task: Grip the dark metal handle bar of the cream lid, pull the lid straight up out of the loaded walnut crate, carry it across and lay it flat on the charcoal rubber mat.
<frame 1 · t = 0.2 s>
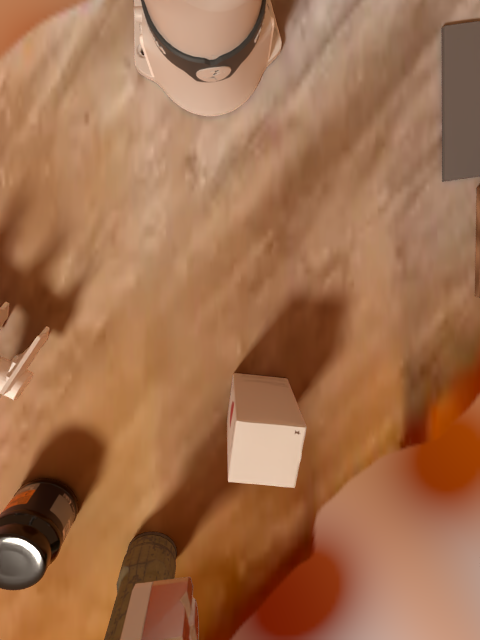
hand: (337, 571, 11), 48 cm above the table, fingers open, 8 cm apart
supplement container: (49, 501, 64), on the table
thermos: (152, 550, 68), on the table
supplement box: (256, 399, 62), on the table
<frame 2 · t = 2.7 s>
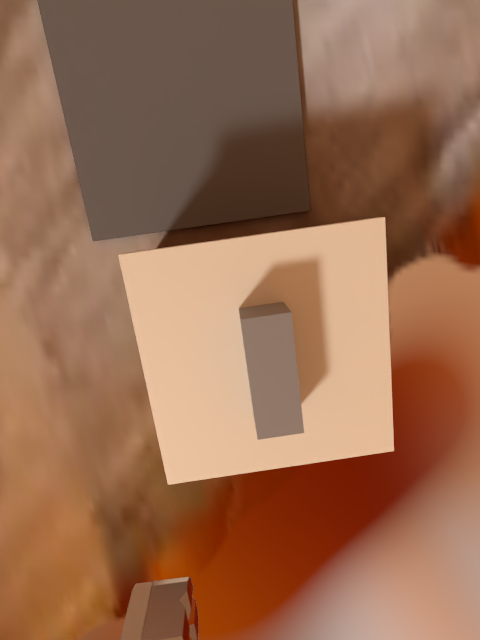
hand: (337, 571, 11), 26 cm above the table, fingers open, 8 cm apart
lid panel: (264, 349, 29), point 8 cm above the table, touching crate
mat: (183, 107, 31), on the table
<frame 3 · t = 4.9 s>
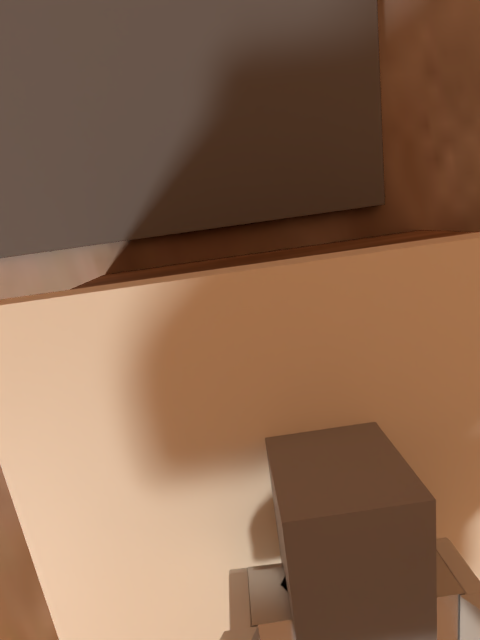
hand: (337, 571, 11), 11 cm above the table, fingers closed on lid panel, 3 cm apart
lid panel: (312, 494, 14), point 8 cm above the table, touching crate, gripper
mat: (151, 6, 16), on the table
crate: (280, 397, 21), on the table
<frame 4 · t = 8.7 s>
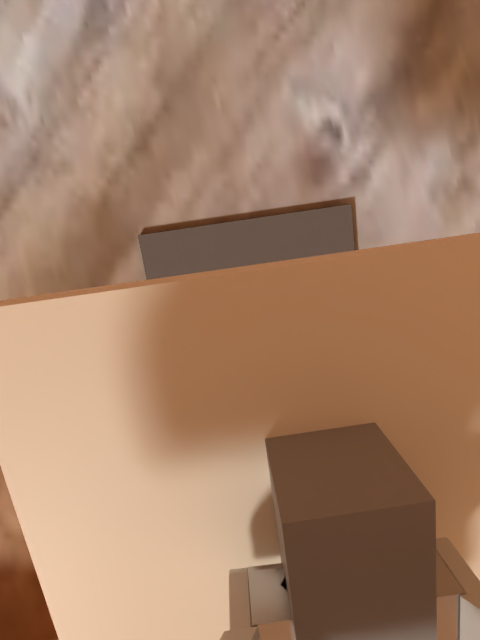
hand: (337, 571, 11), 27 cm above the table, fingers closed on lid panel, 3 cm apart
lid panel: (312, 495, 14), point 24 cm above the table, touching gripper
mat: (258, 321, 36), on the table
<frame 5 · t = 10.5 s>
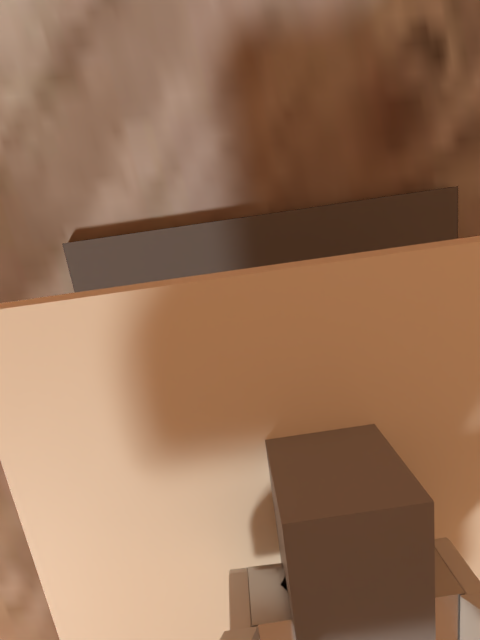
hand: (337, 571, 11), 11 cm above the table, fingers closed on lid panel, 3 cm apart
lid panel: (312, 495, 14), point 8 cm above the table, touching gripper
mat: (281, 391, 21), on the table
when the fingers open (5 cm above the table, at t = 12.1 s): lid panel drops 1 cm, resting on mat.
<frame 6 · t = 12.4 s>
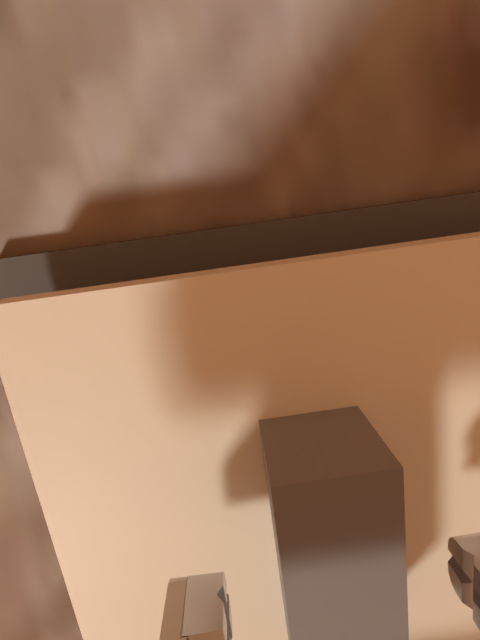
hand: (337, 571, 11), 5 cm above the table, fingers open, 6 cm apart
lid panel: (303, 476, 15), point 1 cm above the table, touching mat
mat: (302, 463, 15), on the table
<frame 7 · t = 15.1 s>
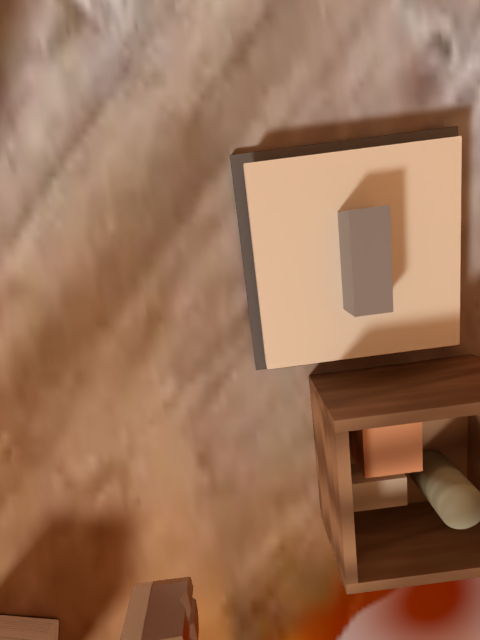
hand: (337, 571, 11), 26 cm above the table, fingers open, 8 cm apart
lid panel: (349, 257, 34), point 1 cm above the table, touching mat
mat: (348, 255, 34), on the table
crate: (393, 439, 39), on the table
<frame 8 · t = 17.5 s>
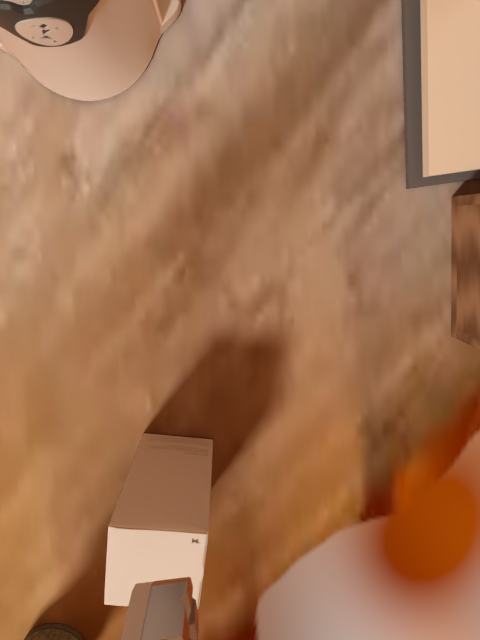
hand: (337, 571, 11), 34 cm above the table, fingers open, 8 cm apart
supplement box: (174, 465, 48), on the table
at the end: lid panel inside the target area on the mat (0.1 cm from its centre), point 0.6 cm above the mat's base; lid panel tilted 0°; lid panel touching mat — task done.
